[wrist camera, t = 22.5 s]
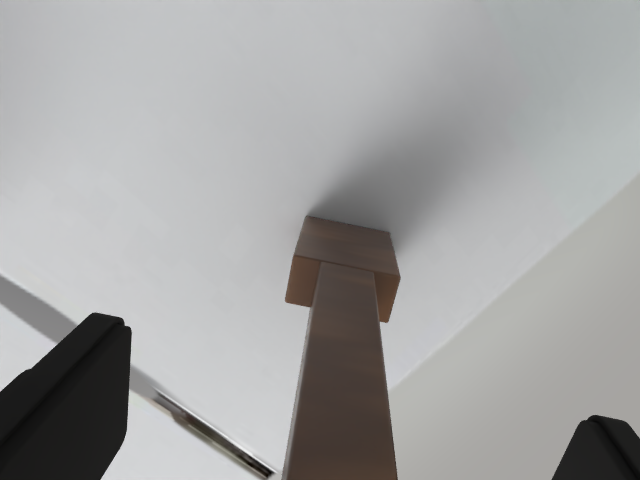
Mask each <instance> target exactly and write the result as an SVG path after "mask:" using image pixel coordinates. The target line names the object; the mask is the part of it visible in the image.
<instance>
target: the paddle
mask: <svg viewBox="0 0 640 480" xmlns="http://www.w3.org/2000/svg"><path fill="white" fill-rule="evenodd" d="M400 278H401V277H400V273H399V269H398V265H397V260H396V256H395V252H394V248H393V244H392V240H391V236H390V233H389V232H384V231H379V230H374V229H369V228H364V227H359V226H354V225H349V224H345V223H340V222H335V221H330V220H325V219H320V218H315V217H310V216H306V217H305V219H304V223H303V226H302V229H301V232H300V236H299V239H298V242H297V245H296V248H295V252H294V255H293V259H292V265H291V270H290V275H289V281H288V286H287V291H286V297H285V302H286V303H291V304H296V305H301V306H306V307H310V313H309V319H308V325H307V331H306V337H305V343H304V349H303V355H302V361H301V367H300V373H299V378H298V384H297V390H296V396H295V402H294V408H293V414H292V420H291V426H290V432H289V438H288V444H287V449H286V455H285V461H284V467H283V474H282V479H281V480H398V479H397V469H396V461H395V452H394V443H393V436H392V426H391V418H390V409H389V401H388V391H387V383H386V374H385V366H384V357H383V348H382V340H381V331H380V322H385V323H387V322H388V321H389V318H390V314H391V311H392V307H393V304H394V300H395V296H396V293H397V289H398V286H399V282H400ZM379 321H380V322H379Z"/></svg>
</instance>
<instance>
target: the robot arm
mask: <svg viewBox="0 0 640 480" xmlns="http://www.w3.org/2000/svg"><path fill="white" fill-rule="evenodd" d="M131 335H132V332H131V328H130V327H128V326H125V325H124V320H123V319H122V318H120V317H115V316H110V315H105V314H101V313H92V314H90V315H89V316H88V317H87V318H86V319H85V320H84V321H83V322H81V323H80V324H79V325H78V326H77V327H76V328H75V329H74V330H73V331H72V332H71V333H70V334H68V335H67V336H66V337H65V338H64V339H63V340H62V341H61V342H60V343H59V344H58V345H56V346H55V347H54V348H53V349H52V350H51V351H50V352H49V353H48V354H47V355H46V356H44V357H43V358H42V359H41V360H40V361H39V362H38V363H37V364H36V365H35V366H34V367H33V368H31V369H28V370H25V371H24V372H22V373H21V374H20V375H18V376H17V377H16V378H15V379H14V380H13V381H12V382H11V383H10V384H8V385H7V386H6V387H5V388H4V389H3V390H2V391H1V392H0V480H100V479H101V478H102V476H103V475H104V473H105V471H106V470H107V468H108V467H109V465H110V463H111V462H112V460H113V459H114V457H115V455H116V454H117V452H118V451H119V449H120V447H121V445H122V443H123V441H124V438H125V435H126V431H127V417H128V396H129V376H130V356H131ZM552 480H640V438H639V437H638V436H637V435H636V433H635V432H634V431H633V429H632V428H631V427H630V426H629V424H628V423H627V422H625V421H622V420H618V419H613V418H608V417H603V416H598V415H593V416H591V417H589V418H588V419H587V420H584V421H581V422H580V424H579V425H578V427H577V429H576V431H575V433H574V435H573V437H572V439H571V441H570V443H569V445H568V447H567V449H566V451H565V454H564V455H563V457H562V460H561V462H560V464H559V466H558V468H557V470H556V472H555V474H554V476H553V478H552Z"/></svg>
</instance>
